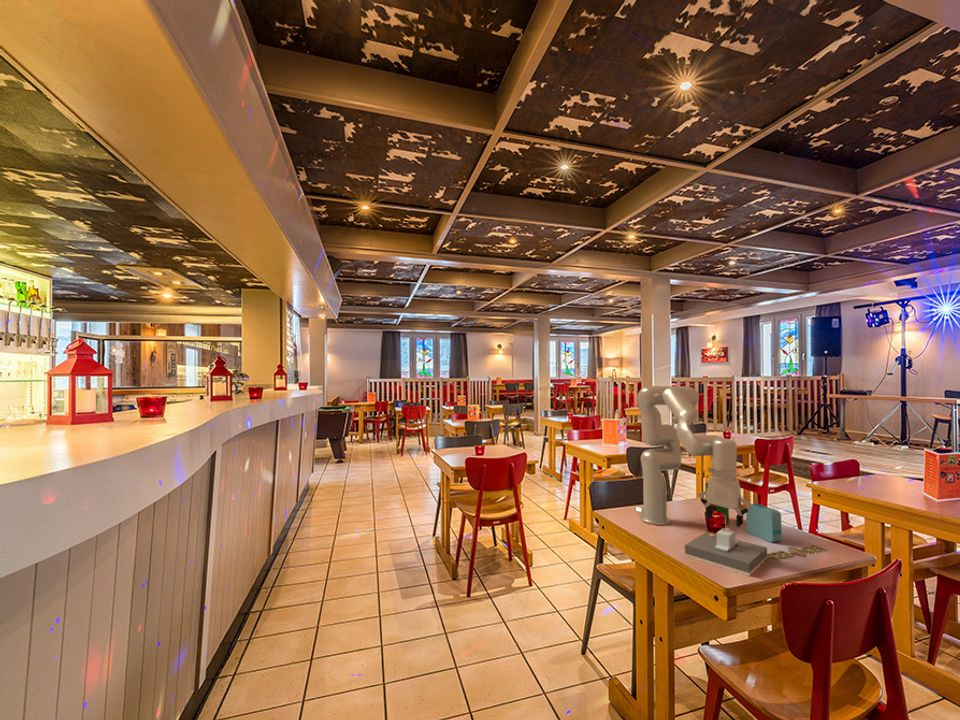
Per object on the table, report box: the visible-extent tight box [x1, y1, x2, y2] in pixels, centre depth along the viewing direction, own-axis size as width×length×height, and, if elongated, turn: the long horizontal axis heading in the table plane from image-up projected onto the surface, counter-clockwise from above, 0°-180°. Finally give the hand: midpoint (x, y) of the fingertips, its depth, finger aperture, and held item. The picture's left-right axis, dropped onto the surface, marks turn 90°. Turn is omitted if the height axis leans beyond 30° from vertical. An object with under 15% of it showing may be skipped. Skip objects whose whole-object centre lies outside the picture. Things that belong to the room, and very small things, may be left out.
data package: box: [745, 503, 783, 543], centre depth 170 cm, size 12×4×12 cm, turn 14°
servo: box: [714, 527, 737, 552], centre depth 150 cm, size 4×12×9 cm, turn 134°
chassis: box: [684, 531, 768, 577], centre depth 150 cm, size 20×20×4 cm
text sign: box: [759, 544, 826, 567], centre depth 153 cm, size 40×1×8 cm
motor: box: [705, 482, 730, 525], centre depth 191 cm, size 10×9×20 cm
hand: (723, 521), depth 151 cm, fingers open, 9 cm apart
